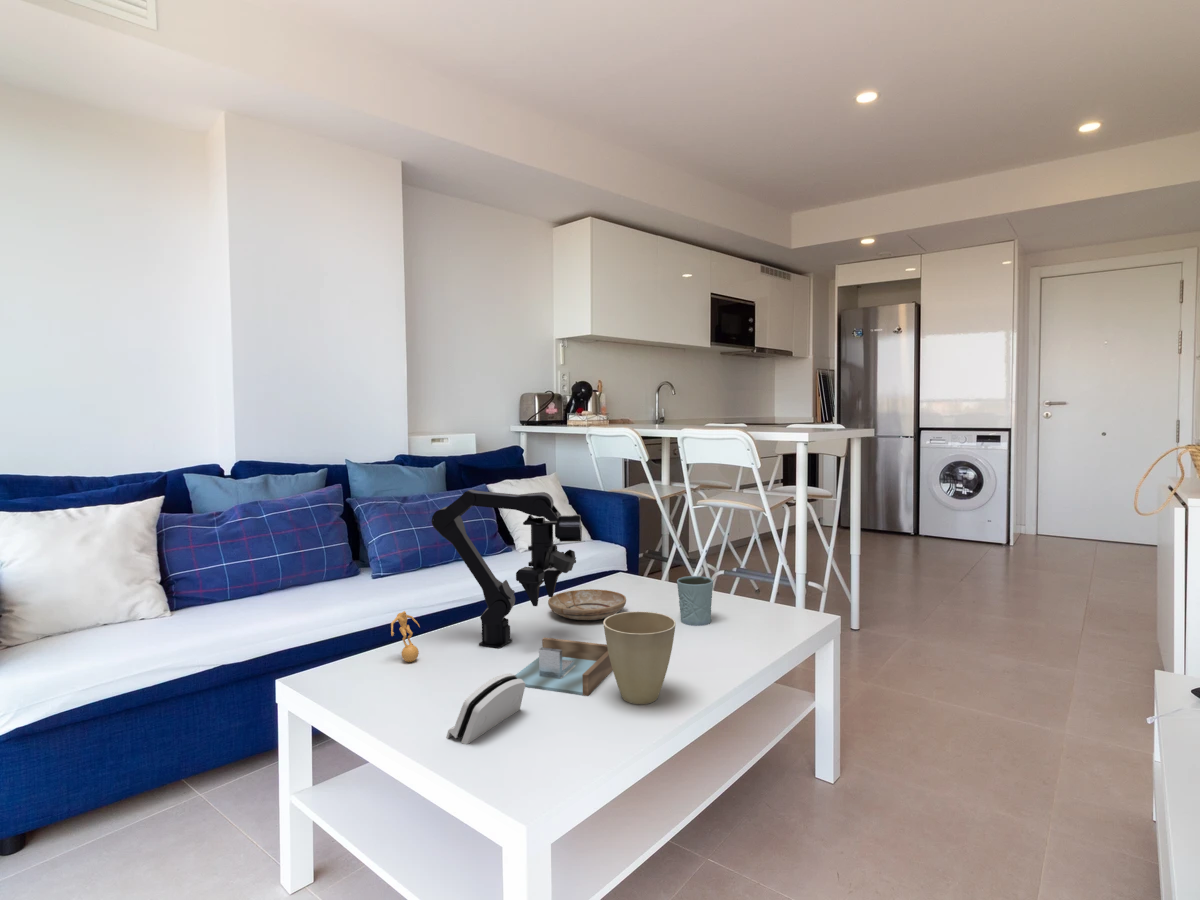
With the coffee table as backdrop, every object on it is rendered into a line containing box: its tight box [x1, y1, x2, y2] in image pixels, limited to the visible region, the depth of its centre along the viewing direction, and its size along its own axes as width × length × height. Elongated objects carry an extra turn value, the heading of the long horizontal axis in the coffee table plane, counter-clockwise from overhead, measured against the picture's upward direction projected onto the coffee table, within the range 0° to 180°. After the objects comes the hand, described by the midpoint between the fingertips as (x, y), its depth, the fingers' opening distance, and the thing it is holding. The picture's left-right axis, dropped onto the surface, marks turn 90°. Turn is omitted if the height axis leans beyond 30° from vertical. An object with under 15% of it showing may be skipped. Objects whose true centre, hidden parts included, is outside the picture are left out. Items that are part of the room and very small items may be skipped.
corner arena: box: [515, 636, 613, 697], centre depth 151 cm, size 19×19×4 cm
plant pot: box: [602, 610, 677, 705], centre depth 137 cm, size 15×15×16 cm
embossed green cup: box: [676, 575, 714, 627], centre depth 189 cm, size 10×10×12 cm
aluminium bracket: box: [538, 647, 574, 679], centre depth 151 cm, size 8×5×6 cm, turn 159°
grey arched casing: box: [445, 673, 526, 745], centre depth 126 cm, size 17×5×10 cm, turn 152°
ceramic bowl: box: [547, 588, 627, 621], centre depth 198 cm, size 23×24×5 cm
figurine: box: [390, 610, 421, 663], centre depth 160 cm, size 8×6×12 cm
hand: (543, 601), depth 171 cm, fingers open, 9 cm apart
